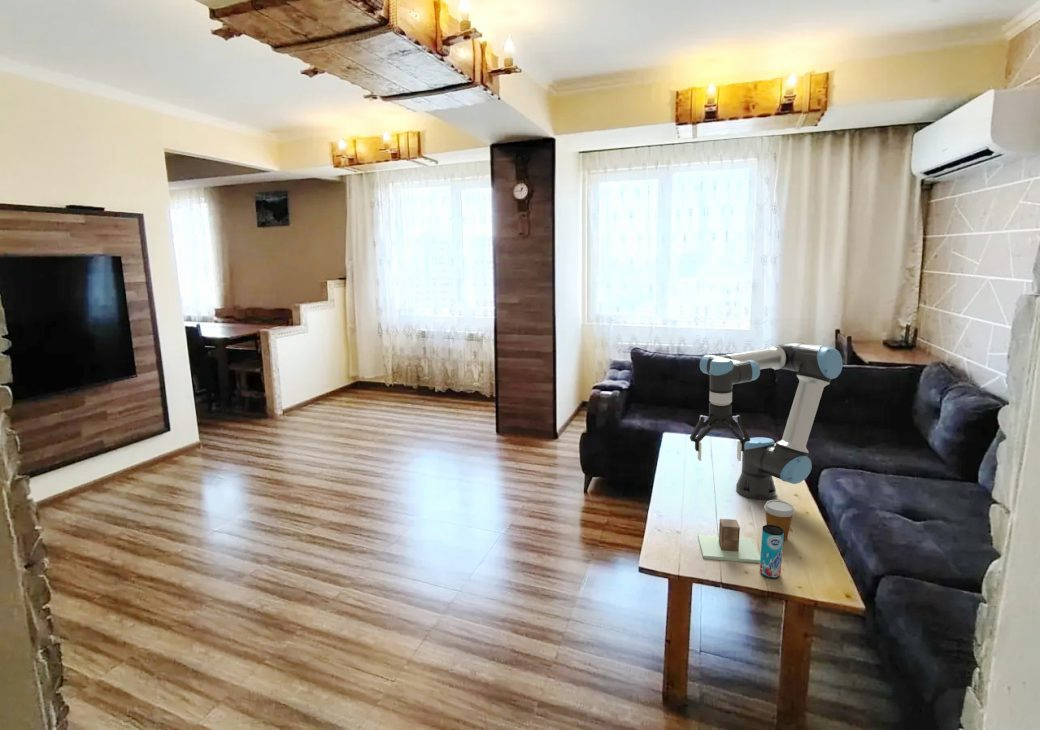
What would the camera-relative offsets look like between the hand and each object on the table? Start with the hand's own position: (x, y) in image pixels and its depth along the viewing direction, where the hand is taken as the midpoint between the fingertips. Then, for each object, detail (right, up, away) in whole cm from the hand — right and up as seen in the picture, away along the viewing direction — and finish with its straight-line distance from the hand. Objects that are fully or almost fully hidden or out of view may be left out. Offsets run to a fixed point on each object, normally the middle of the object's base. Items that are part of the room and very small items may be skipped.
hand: (719, 459), depth 194 cm
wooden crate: (-2, -27, -13) cm, 30 cm away
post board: (-2, -28, -13) cm, 31 cm away
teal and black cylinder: (+6, -31, -27) cm, 42 cm away
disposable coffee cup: (+18, -26, -5) cm, 33 cm away
